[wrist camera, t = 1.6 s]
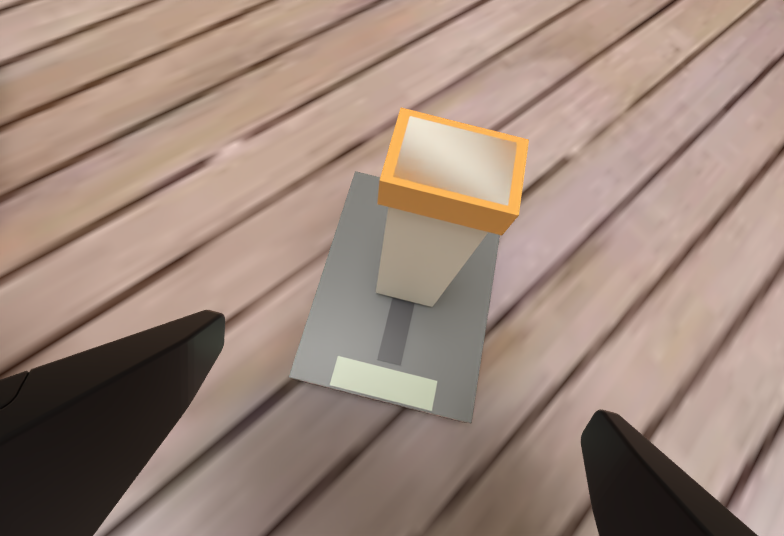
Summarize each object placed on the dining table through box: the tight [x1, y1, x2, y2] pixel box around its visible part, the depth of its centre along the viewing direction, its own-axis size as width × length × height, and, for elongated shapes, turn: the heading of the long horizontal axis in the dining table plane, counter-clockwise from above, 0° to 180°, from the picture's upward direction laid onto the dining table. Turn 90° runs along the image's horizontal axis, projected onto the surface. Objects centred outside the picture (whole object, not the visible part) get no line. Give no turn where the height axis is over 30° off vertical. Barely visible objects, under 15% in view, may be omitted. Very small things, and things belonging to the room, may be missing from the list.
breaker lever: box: [376, 108, 529, 307], centre depth 15 cm, size 2×4×11 cm, turn 77°
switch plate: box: [289, 171, 500, 423], centre depth 21 cm, size 12×9×2 cm
